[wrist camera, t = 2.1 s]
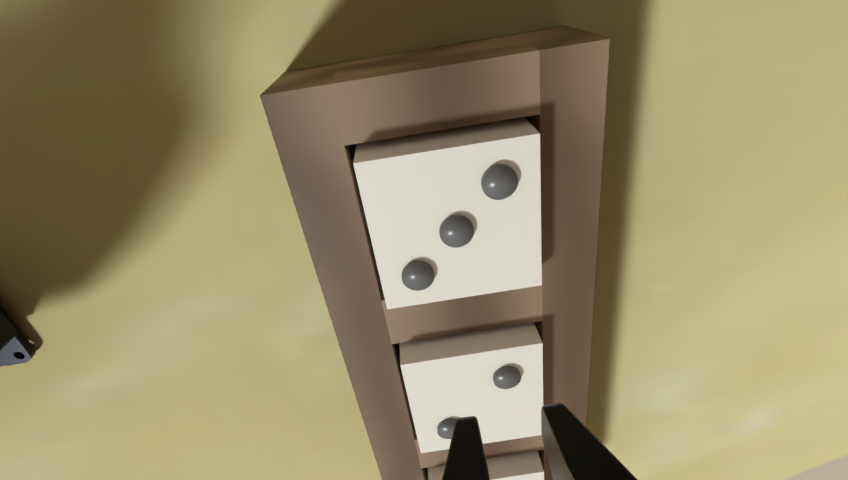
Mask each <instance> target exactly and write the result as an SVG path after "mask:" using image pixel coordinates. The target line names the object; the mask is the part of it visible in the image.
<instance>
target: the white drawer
mask: <svg viewBox="0 0 848 480" xmlns="http://www.w3.org/2000/svg"><path fill="white" fill-rule="evenodd" d="M486 461H487V466H488V471H489V477H490V480H544V470H543V467H542V463H541V460H540V457H539V454H538V451H532V452H526V453H519V454H513V455H506V456H500V457H493V458H487V459H486ZM427 468H428V480H442V476H443V472H444V468H445V465H441V466H434V467H427Z"/></svg>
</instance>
